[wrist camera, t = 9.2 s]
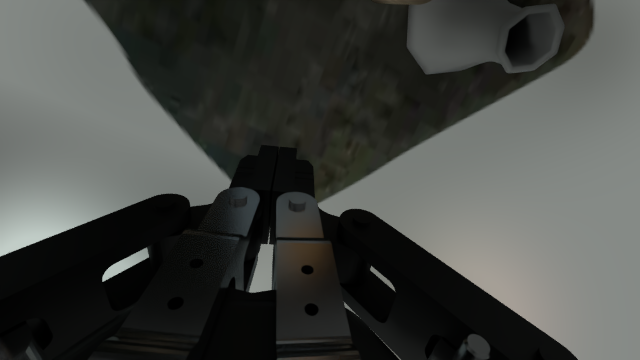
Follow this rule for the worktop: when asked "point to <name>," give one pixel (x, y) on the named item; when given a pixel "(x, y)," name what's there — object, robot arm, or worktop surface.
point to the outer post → (402, 2)
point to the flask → (482, 34)
